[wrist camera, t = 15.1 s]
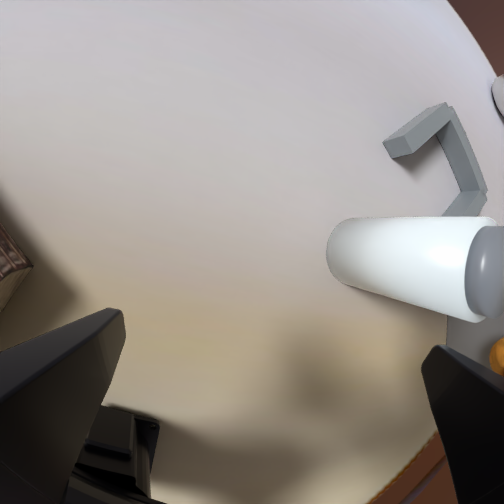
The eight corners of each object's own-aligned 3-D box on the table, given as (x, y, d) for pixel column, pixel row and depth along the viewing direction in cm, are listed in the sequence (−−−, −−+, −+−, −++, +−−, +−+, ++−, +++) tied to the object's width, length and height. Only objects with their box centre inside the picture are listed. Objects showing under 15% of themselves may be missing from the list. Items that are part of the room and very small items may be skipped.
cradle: (432, 247, 24) (453, 249, 21) (382, 142, 21) (403, 135, 19) (471, 196, 25) (489, 196, 23) (430, 106, 23) (448, 99, 20)
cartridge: (369, 291, 22) (505, 332, 10) (317, 275, 20) (466, 320, 9) (385, 230, 22) (525, 237, 10) (337, 208, 20) (490, 198, 9)
